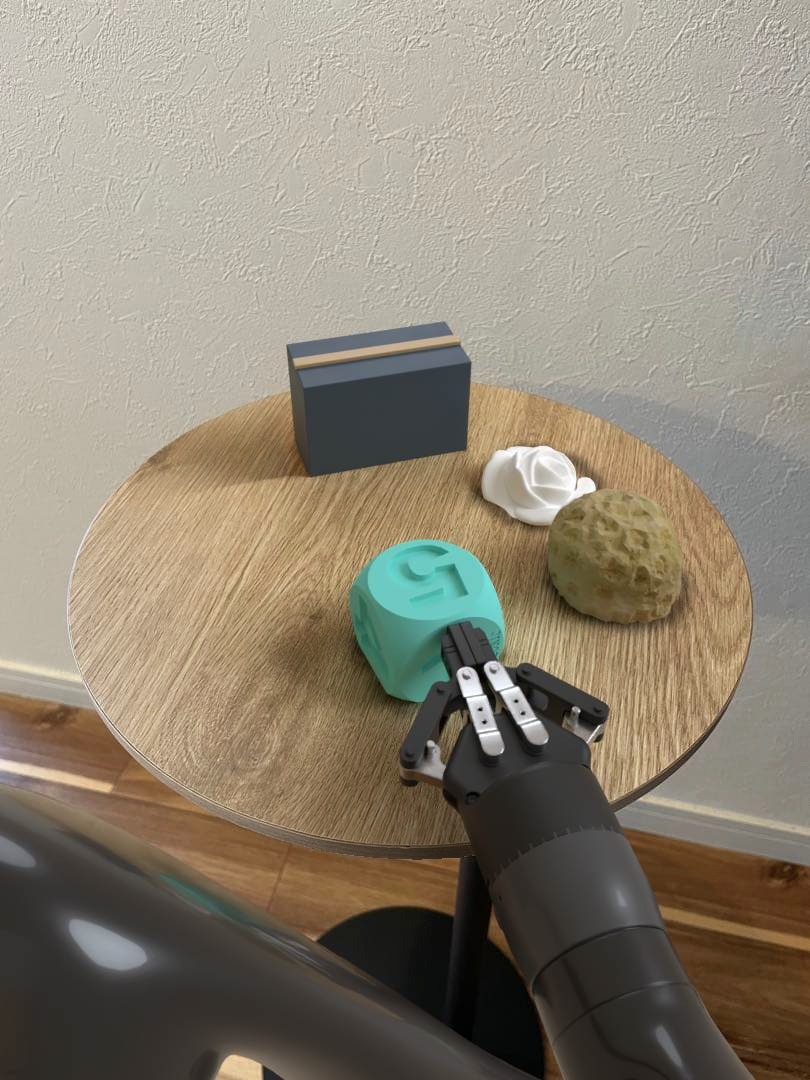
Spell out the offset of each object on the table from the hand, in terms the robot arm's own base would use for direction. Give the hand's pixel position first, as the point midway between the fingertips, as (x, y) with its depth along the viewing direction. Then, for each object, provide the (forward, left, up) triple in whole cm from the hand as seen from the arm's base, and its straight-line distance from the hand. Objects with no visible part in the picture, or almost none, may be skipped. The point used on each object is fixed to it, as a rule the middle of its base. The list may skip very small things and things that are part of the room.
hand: (456, 632), depth 61 cm
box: (+3, +29, -7) cm, 30 cm away
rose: (+14, +19, -7) cm, 24 cm away
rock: (+15, +7, -7) cm, 18 cm away
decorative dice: (-1, +4, -7) cm, 8 cm away
